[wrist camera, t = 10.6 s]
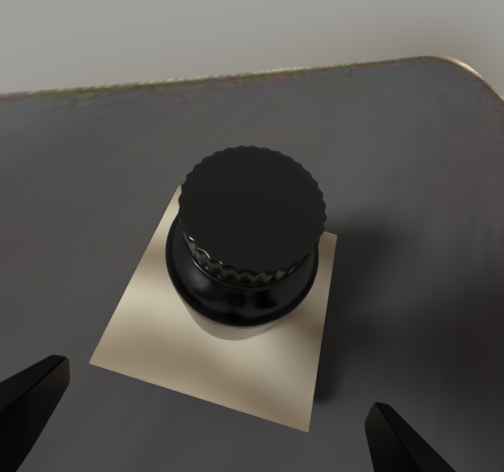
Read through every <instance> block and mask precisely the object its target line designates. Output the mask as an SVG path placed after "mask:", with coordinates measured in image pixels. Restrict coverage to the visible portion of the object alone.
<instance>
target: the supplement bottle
mask: <svg viewBox="0 0 504 472" xmlns="http://www.w3.org/2000/svg"><path fill="white" fill-rule="evenodd" d="M178 203H179V210H178V214H177V215H176V217H175V219H174V220H173V222H172V224H171V227H170V229H169V232H168V235H167V240H166V247H165V260H166V267H167V271H168V274H169V277H170V280H171V282H172V285H173V287H174V289H175V291H176V293H177V294H178V296H179V297H180V299H181V301H182V302H183V304H184V306H185V307H186V309H187V310H188V312H189V314H190V315H191V317H192V318H193V320H194V321H195V322H196V323H197V325H198V326H199V327H200V328H201V329H203V330H204V331H205V332H207V333H208V334H210V335H212V336H214V337H217V338H219V339H223V340H230V341H237V340H244V339H248V338H251V337H254V336H256V335H258V334H260V333H261V332H263V331H264V330H266V329H267V328H269V327H270V326H272V325H273V324H275V323H277V322H278V321H280V320H281V319H283V318H284V317H286V316H287V315H289V314H290V313H291V312H292V311H293V310H295V309H296V308H297V307H298V306H299V305H300V303H301V302H302V301H303V300H304V299H305V297H306V296H307V295H308V293H309V291H310V290H311V288H312V286H313V284H314V281H315V278H316V275H317V271H318V265H319V248H318V244H319V241H320V237H321V235H322V234H323V233H324V230H325V229H324V223H325V221H326V219H327V217H326V213H325V209H326V204H325V202H324V201H323V193H322V192H321V190H320V189H319V188H318V183H317V182H316V181H315V180H314V179H313V178H312V176H311V174H310V172H308V171H307V170H305V169H304V168H303V166H302V165H301V164H300V163H298V162H295V161H294V160H293V159H292V158H291V157H289V156H286V155H283V154H282V153H280V152H279V151H272V150H270V149H268V148H266V147H261V148H259V147H257V146H254V145H253V146H241V145H240V146H237V147H235V148H226V149H224V150H223V151H216V152H215V153H213V155H211V156H208V157H205V158H204V159H203V160H202V162H201V163H198V164H196V165H195V166H194V168H193V171H191V172H190V173H189V174H187V177H186V181H185V182H184V183H183V185H182V186H181V194H180V196H179V198H178Z"/></svg>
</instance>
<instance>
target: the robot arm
mask: <svg viewBox="0 0 504 472" xmlns="http://www.w3.org/2000/svg"><path fill="white" fill-rule="evenodd" d="M69 382H70V365H69V358H68V357H66V356H60V355H51V356H49V357H47V358H45V359H43V360H41V361H39V362H38V363H36V364H34V365H32V366H30V367H28V368H26V369H25V370H23V371H21V372H19V373H17V374H15V375H13V376H12V377H10V378H8V379H6V380H4V381H2V382H0V472H16V471H17V470H18V468H19V467H20V465H21V464H22V462H23V461H24V459H25V458H26V456H27V455H28V453H29V452H30V450H31V449H32V447H33V446H34V444H35V442H36V441H37V439H38V437H39V436H40V434H41V432H42V430H43V429H44V427H45V425H46V423H47V422H48V420H49V418H50V417H51V415H52V413H53V411H54V410H55V408H56V406H57V404H58V403H59V401H60V399H61V397H62V396H63V394H64V392H65V390H66V389H67V387H68V385H69ZM365 432H366V437H367V441H368V446H369V450H370V455H371V459H372V464H373V468H374V472H456V471H455V470H454V469H453V468H452V467H451V466H450V465H449V464H448V463H447V462H446V461H445V460H444V459H443V458H442V457H441V456H440V455H439V454H438V453H437V452H436V451H435V450H434V449H433V448H432V447H431V446H430V445H429V444H428V443H427V442H426V441H425V440H424V439H423V438H422V437H421V436H420V435H419V434H418V433H417V432H416V431H415V430H414V429H413V428H412V427H411V426H410V425H409V424H408V423H407V422H406V421H405V420H404V419H403V418H402V417H401V416H400V415H399V414H398V413H397V412H396V411H395V410H394V409H393V408H392V407H391V406H390V405H388V404H385V403H379V402H375V403H373V405H372V407H371V409H370V411H369V413H368V415H367V418H366V420H365Z"/></svg>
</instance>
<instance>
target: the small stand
mask: <svg viewBox="0 0 504 472" xmlns="http://www.w3.org/2000/svg"><path fill="white" fill-rule="evenodd" d="M180 194H181V187H180V186H178V188H177V190H176V192H175V194H174V196H173V198H172V200H171V202H170V204H169V206H168V208H167V210H166V212H165V214H164V216H163V218H162V220H161V222H160V224H159V226H158V228H157V230H156V232H155V234H154V236H153V237H152V239H151V241H150V243H149V245H148V247H147V249H146V251H145V253H144V255H143V257H142V259H141V261H140V263H139V265H138V267H137V269H136V271H135V273H134V275H133V277H132V279H131V281H130V283H129V285H128V287H127V289H126V291H125V293H124V295H123V297H122V299H121V301H120V302H119V304H118V306H117V308H116V310H115V312H114V314H113V316H112V318H111V320H110V322H109V324H108V326H107V328H106V330H105V332H104V334H103V336H102V338H101V340H100V342H99V344H98V346H97V348H96V350H95V352H94V354H93V356H92V358H91V360H90V362H89V364H93V365H96V366H99V367H102V368H105V369H108V370H112V371H115V372H118V373H121V374H124V375H127V376H131V377H134V378H137V379H140V380H143V381H146V382H150V383H153V384H156V385H159V386H162V387H165V388H169V389H172V390H175V391H178V392H181V393H184V394H188V395H191V396H194V397H197V398H200V399H203V400H207V401H210V402H213V403H216V404H219V405H222V406H226V407H229V408H232V409H235V410H238V411H241V412H245V413H248V414H251V415H254V416H257V417H260V418H264V419H267V420H270V421H273V422H276V423H279V424H283V425H286V426H289V427H292V428H295V429H298V430H302V431H305V432H308V430H309V424H310V417H311V410H312V403H313V397H314V390H315V383H316V376H317V370H318V363H319V356H320V349H321V343H322V336H323V329H324V322H325V315H326V309H327V302H328V295H329V288H330V282H331V275H332V268H333V261H334V255H335V248H336V241H337V235H335V234H332V233H329V232H326V231H324V233H323V234H322V235H321V237H320V241H319V244H318V248H319V265H318V271H317V275H316V278H315V281H314V284H313V286H312V288H311V290H310V291H309V293H308V295H307V296H306V297H305V299H304V300H303V301H302V302H301V303H300V305H299V306H298V307H297V308H296V309H295V310H293V311H292V312H291V313H290V314H289V315H287V316H286V317H284V318H283V319H281V320H280V321H278V322H277V323H275V324H273V325H272V326H270V327H269V328H267V329H266V330H264V331H263V332H261V333H260V334H258V335H256V336H254V337H251V338H248V339H244V340H237V341H230V340H223V339H219V338H217V337H214V336H212V335H210V334H208V333H207V332H205V331H204V330H203V329H201V328H200V327H199V326H198V325H197V323H196V322H195V321H194V320H193V318H192V317H191V315H190V314H189V312H188V310H187V309H186V307H185V306H184V304H183V302H182V301H181V299H180V297H179V296H178V294H177V293H176V291H175V289H174V287H173V285H172V282H171V280H170V277H169V274H168V271H167V267H166V260H165V247H166V240H167V235H168V232H169V229H170V227H171V224H172V222H173V220H174V219H175V217H176V215H177V214H178V210H179V203H178V198H179V196H180Z"/></svg>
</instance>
